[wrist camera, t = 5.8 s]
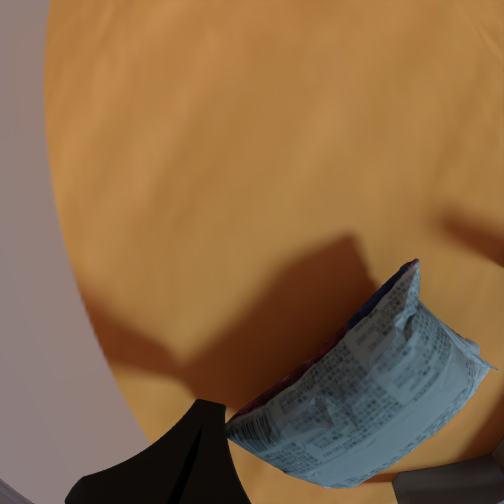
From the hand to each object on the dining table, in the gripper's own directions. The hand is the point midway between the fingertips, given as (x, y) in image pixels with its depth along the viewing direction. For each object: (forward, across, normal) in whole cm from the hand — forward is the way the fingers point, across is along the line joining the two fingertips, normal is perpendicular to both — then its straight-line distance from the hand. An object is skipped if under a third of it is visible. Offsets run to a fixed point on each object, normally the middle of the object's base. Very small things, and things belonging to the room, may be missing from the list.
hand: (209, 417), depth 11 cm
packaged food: (+3, -7, -1) cm, 8 cm away
